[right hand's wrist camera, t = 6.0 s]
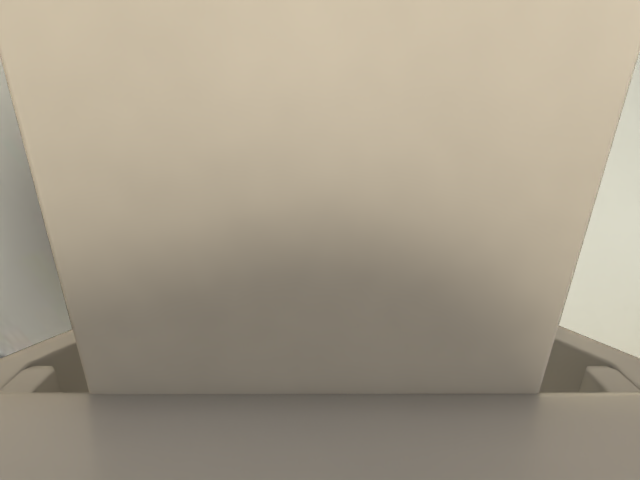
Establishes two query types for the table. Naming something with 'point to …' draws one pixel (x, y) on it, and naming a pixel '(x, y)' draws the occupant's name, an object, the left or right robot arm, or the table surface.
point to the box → (317, 184)
